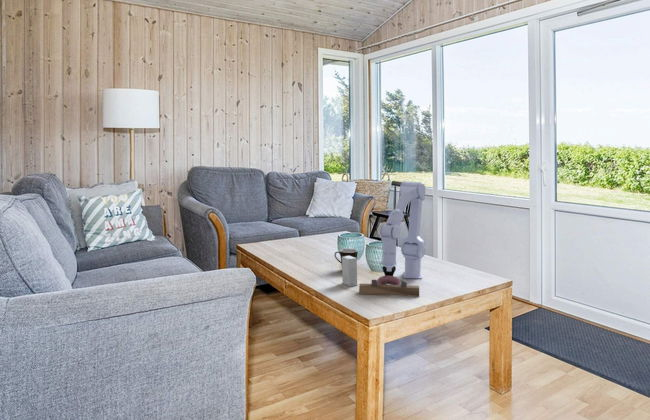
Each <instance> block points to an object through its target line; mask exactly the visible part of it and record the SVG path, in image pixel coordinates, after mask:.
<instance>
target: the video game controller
mask: <svg viewBox="0 0 650 420" xmlns="http://www.w3.org/2000/svg"><path fill="white" fill-rule="evenodd" d="M376 280H377V284H386V283H391V284H389V285H401V280H400V279H399V278H398V277H397V276H394V275H393V276H385V275H383V276H382V275H381V276H380V277H378V278H377V279H376ZM386 285H388V284H386Z"/></svg>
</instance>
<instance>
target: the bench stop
mask: <svg viewBox="0 0 650 420" xmlns="http://www.w3.org/2000/svg"><path fill="white" fill-rule="evenodd" d="M377 280H378V279H371V283H359V285H358V294H359V295H374V296H375V295H376V296H379V295H380V296H399V297H402V296H403V297H420V285H409V284H407V283H408V281H407V280H400V284H401V285H390V284H387V285H386V284H377Z"/></svg>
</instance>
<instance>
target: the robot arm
mask: <svg viewBox="0 0 650 420" xmlns="http://www.w3.org/2000/svg"><path fill="white" fill-rule="evenodd" d="M399 194H400V195H399V198H398V200H397V204H396V206H395V208H394V209H393V210H391V212H390V214H389V215H388V219H387V220H386V222H385V224H383V225H381V227H380V231H379V235H380V238H381V242H382V255H381V257H382V261H379V265H381V266H382V271H383V274H384V276H394V274H395V272H396V271H397V268H396V267H397V239H398V237H399V235H400V229H401V224H402V222H403V219H404V217H405V214H404V211H405V209H406V208H407V206H408V204H409V203H410V207H409V209H410V210H409V219H408V220H409V221H408V222H409V223H408V233H407V236H406V237H404V239H403V240H402V244H401V247H400V251H401V254H402V256H403V258H404V271H403V272H402V273H403V278H404V279H421V280H422V278H423V277H422V273H421V271H422V269H421V267H422V263H421V262H422V259H423V257H424V256H425V255H426V247H425V246H426V245H425V244H426V243H425V241H424V239H422V238H421V237H420V234H421V233H420V232H421V221H422V209H423V208H422V207H423V201H425V200H426V199H425V198H426V185H425V183H424V182H423V181H406V180H403V181H402V182H401V183H400V186H399ZM386 284H387V285H390V284H391V283H386Z"/></svg>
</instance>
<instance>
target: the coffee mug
mask: <svg viewBox="0 0 650 420" xmlns="http://www.w3.org/2000/svg"><path fill="white" fill-rule="evenodd" d="M337 253H338V254H339V256H340V259H338V257H337ZM358 253H359V250H358V249H355V248H342V249H340V250H339V251H335V252H334V258H335V259H336V260H337V261H338V263H340V264H341V265H342V257H343V256H352V257H355V258H357V259H358Z"/></svg>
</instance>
